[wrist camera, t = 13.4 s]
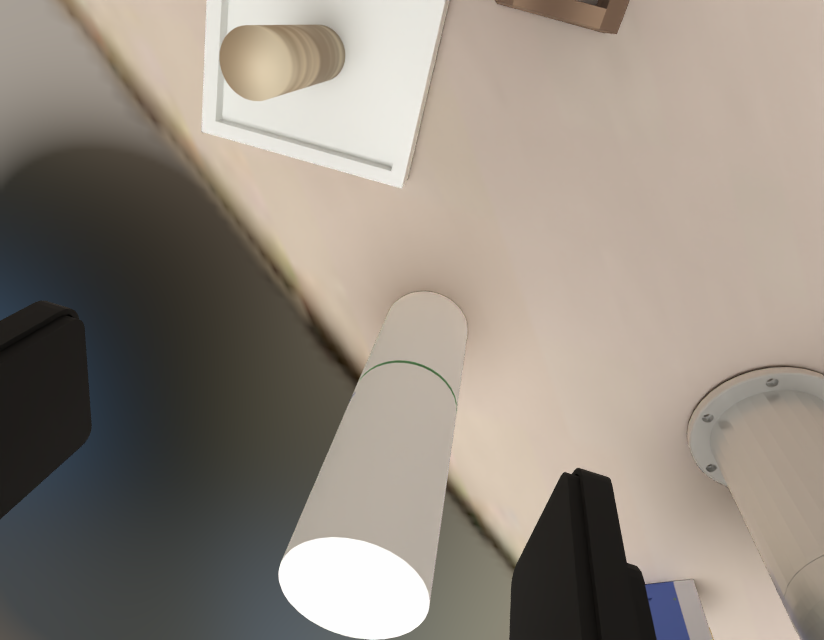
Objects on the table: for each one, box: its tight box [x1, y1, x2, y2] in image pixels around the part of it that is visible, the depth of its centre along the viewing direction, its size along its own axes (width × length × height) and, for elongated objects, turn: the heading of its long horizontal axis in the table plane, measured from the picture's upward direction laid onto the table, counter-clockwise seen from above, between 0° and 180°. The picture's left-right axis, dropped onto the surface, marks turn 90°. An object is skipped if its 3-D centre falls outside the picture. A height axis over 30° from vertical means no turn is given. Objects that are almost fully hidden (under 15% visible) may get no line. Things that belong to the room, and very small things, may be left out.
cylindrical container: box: [279, 291, 468, 639], centre depth 36 cm, size 7×7×25 cm
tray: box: [201, 0, 450, 189], centre depth 37 cm, size 15×14×2 cm
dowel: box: [219, 25, 345, 101], centre depth 32 cm, size 3×3×11 cm
